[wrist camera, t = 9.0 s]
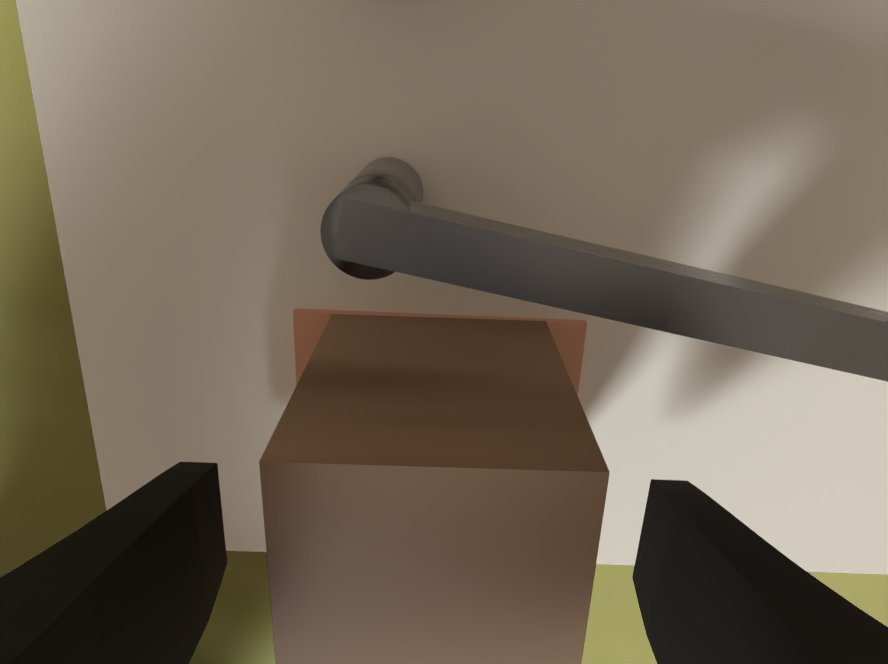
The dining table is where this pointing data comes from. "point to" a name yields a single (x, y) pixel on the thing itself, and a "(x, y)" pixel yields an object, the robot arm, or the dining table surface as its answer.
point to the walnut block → (432, 498)
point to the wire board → (484, 195)
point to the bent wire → (589, 276)
